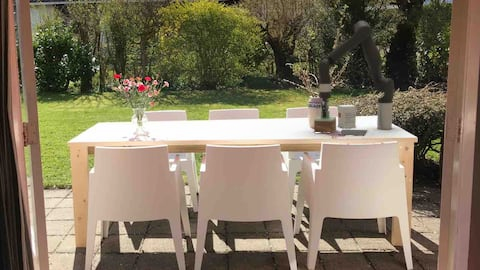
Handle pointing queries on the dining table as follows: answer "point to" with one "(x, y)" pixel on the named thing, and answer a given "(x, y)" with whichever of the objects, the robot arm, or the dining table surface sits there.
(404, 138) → the dining table surface
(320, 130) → the walnut box
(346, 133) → the rubber mat
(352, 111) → the supplement box
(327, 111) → the lid
